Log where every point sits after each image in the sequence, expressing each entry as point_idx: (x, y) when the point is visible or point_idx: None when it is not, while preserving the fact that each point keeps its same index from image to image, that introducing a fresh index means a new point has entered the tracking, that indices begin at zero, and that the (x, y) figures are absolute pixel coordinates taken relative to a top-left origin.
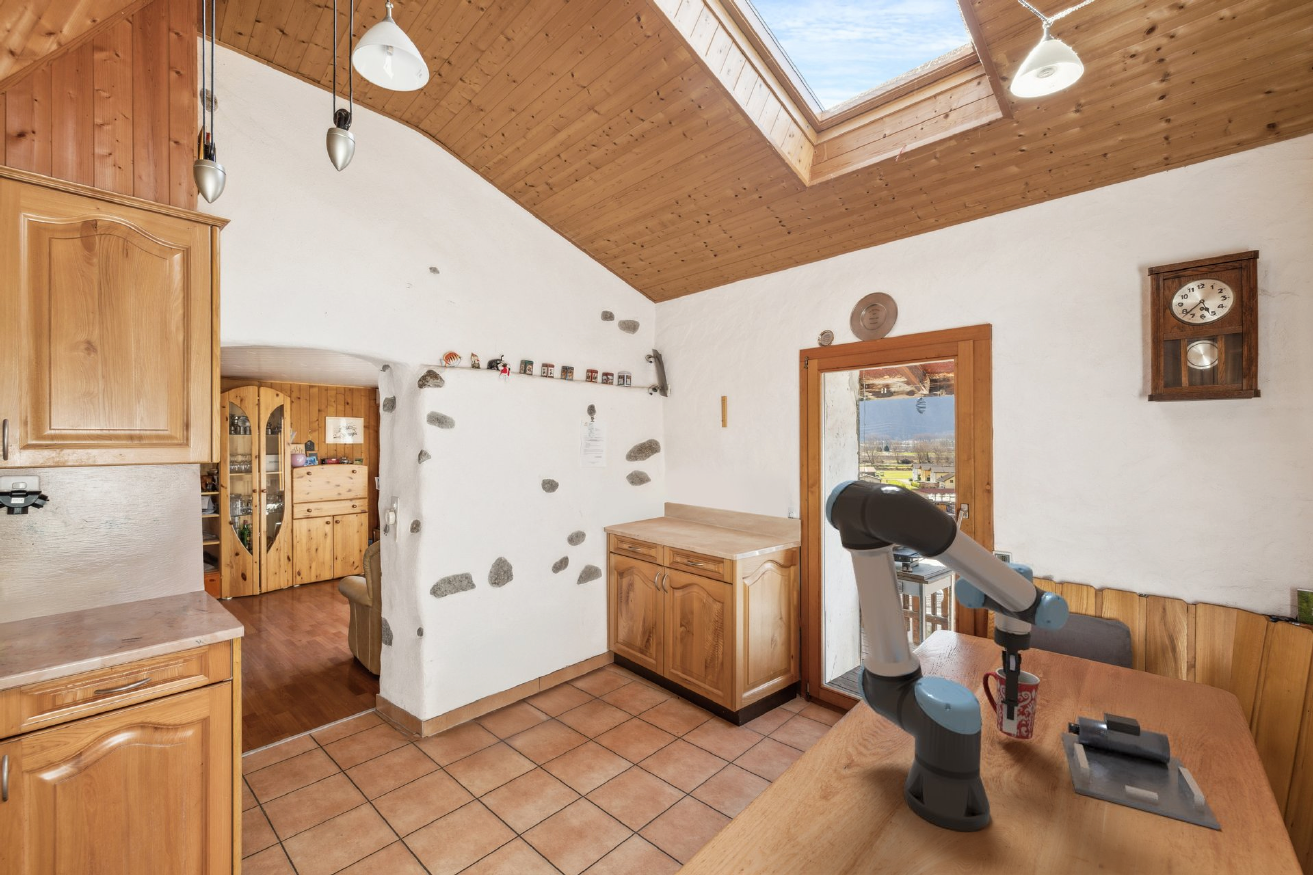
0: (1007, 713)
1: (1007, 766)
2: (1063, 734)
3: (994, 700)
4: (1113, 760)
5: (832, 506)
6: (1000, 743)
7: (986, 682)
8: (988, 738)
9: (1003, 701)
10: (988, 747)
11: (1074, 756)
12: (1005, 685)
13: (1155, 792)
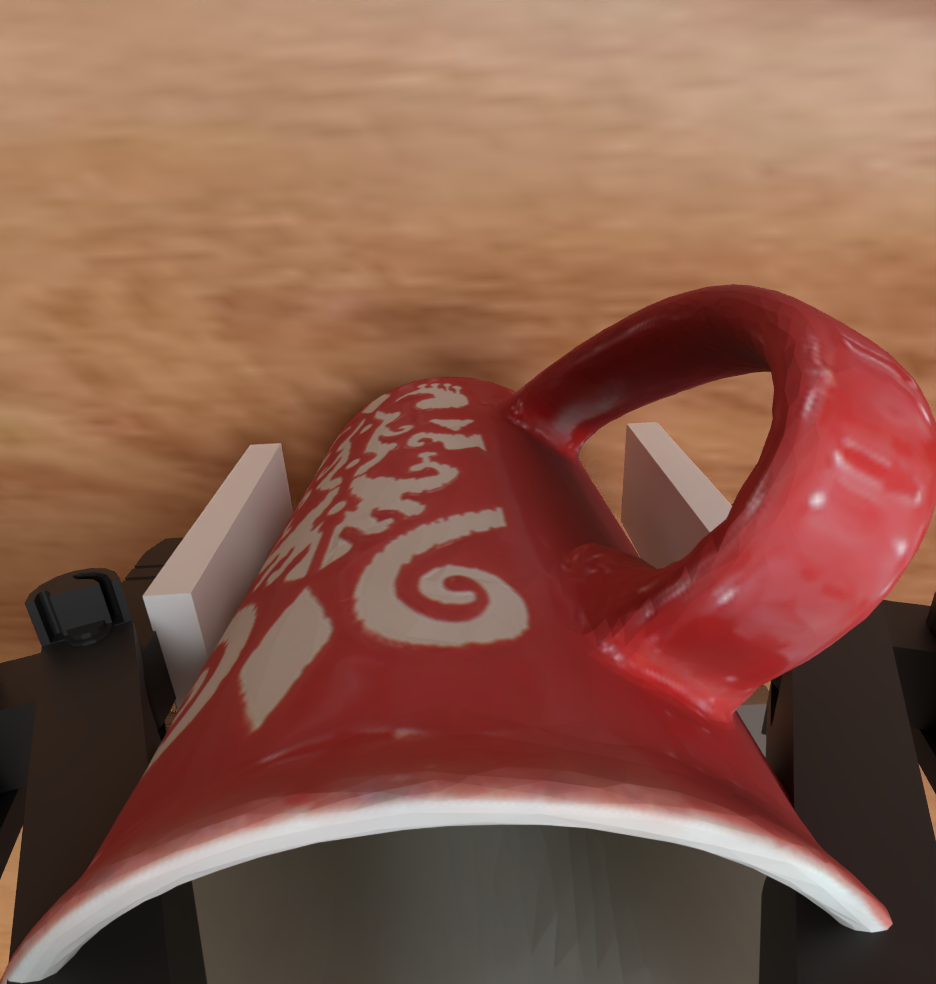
0: (130, 578)
1: (121, 423)
2: (749, 710)
3: (630, 404)
4: None
5: None
6: (445, 371)
7: (754, 354)
8: (479, 287)
9: (36, 623)
10: (320, 295)
11: None
12: (25, 831)
13: None
